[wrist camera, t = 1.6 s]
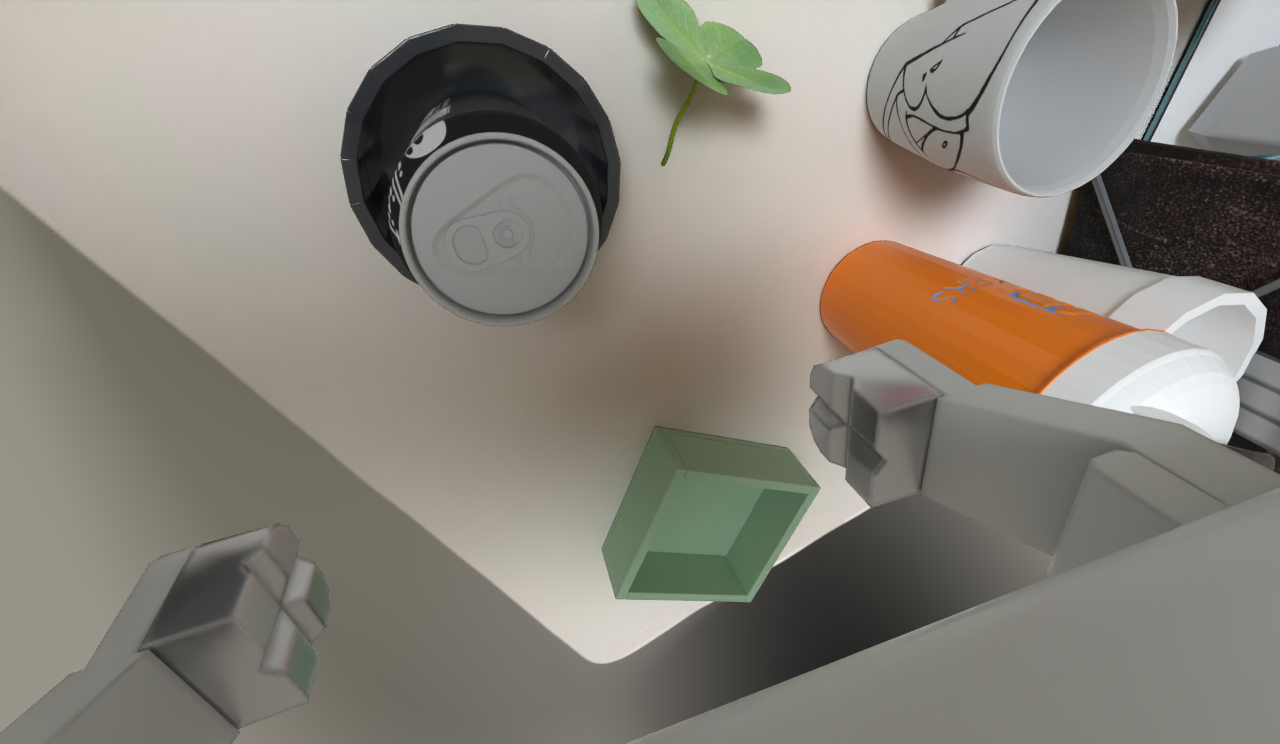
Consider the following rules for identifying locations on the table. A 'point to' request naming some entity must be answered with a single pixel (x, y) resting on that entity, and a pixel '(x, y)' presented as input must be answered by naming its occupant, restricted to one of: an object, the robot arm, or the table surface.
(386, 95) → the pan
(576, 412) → the table surface
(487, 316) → the beverage can
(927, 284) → the shaker bottle
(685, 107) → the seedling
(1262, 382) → the book
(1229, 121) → the grey desk organizer
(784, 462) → the bin
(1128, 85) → the mug
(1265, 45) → the smartphone
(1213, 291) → the foam cup
